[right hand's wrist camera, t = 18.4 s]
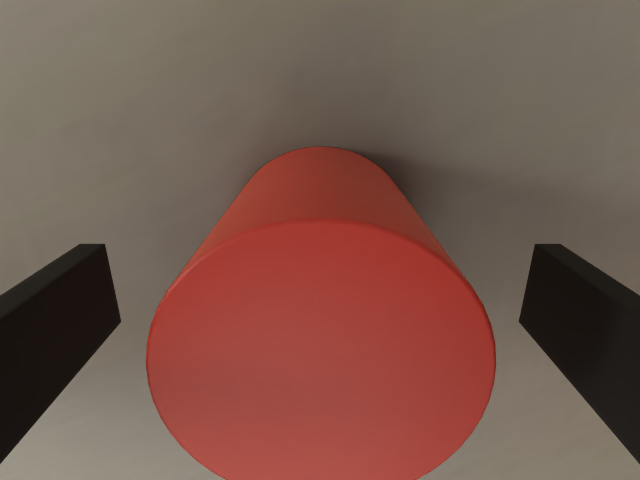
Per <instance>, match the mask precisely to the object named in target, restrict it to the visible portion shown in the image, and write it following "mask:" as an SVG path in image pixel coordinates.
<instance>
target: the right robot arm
mask: <svg viewBox="0 0 640 480" xmlns="http://www.w3.org/2000/svg"><path fill="white" fill-rule="evenodd" d="M120 322H121V318H120V314H119V309H118V304H117V299H116V295H115V290H114V285H113V280H112V275H111V271H110V266H109V261H108V256H107V251H106V247H105V244H79V245H77V246H76V247H74V248H73V249H71V250H70V251H68V252H67V253H65V254H64V255H62V256H61V257H59V258H57V259H56V260H54V261H53V262H51V263H50V264H48V265H47V266H45V267H44V268H42V269H41V270H39V271H38V272H36V273H34V274H33V275H31V276H30V277H28V278H27V279H25V280H24V281H22V282H21V283H19V284H18V285H16V286H14V287H13V288H11V289H10V290H8V291H7V292H5V293H4V294H2V295H1V296H0V464H1V462H2V461H3V460H4V459H5V458H6V457H7V455H8V454H9V453H10V452H11V451H12V450H13V448H14V447H15V446H16V445H17V444H18V442H19V441H20V440H21V439H22V438H23V437H24V435H25V434H26V433H27V432H28V431H29V430H30V428H31V427H32V426H33V425H34V424H35V422H36V421H37V420H38V419H39V418H40V417H41V415H42V414H43V413H44V412H45V411H46V410H47V408H48V407H49V406H50V405H51V404H52V402H53V401H54V400H55V399H56V398H57V397H58V395H59V394H60V393H61V392H62V391H63V390H64V388H65V387H66V386H67V385H68V384H69V382H70V381H71V380H72V379H73V378H74V377H75V375H76V374H77V373H78V372H79V371H80V370H81V368H82V367H83V366H84V365H85V364H86V362H87V361H88V360H89V359H90V358H91V357H92V355H93V354H94V353H95V352H96V351H97V350H98V348H99V347H100V346H101V345H102V344H103V342H104V341H105V340H106V339H107V338H108V337H109V335H110V334H111V333H112V332H113V331H114V329H115V328H116V327H117V326H118V325H119V324H120ZM519 322H520V324H521V325H522V326H523V327H524V328H525V330H526V331H527V332H528V333H529V334H530V335H531V337H532V338H533V339H534V340H535V341H536V342H537V344H538V345H539V346H540V347H541V348H542V350H543V351H544V352H545V353H546V354H547V355H548V357H549V358H550V359H551V360H552V361H553V362H554V364H555V365H556V366H557V367H558V368H559V370H560V371H561V372H562V373H563V374H564V375H565V377H566V378H567V379H568V380H569V381H570V382H571V384H572V385H573V386H574V387H575V388H576V390H577V391H578V392H579V393H580V394H581V395H582V397H583V398H584V399H585V400H586V401H587V402H588V404H589V405H590V406H591V407H592V408H593V410H594V411H595V412H596V413H597V414H598V415H599V417H600V418H601V419H602V420H603V421H604V422H605V424H606V425H607V426H608V427H609V428H610V430H611V431H612V432H613V433H614V434H615V435H616V437H617V438H618V439H619V440H620V441H621V442H622V444H623V445H624V446H625V447H626V448H627V450H628V451H629V452H630V453H631V454H632V455H633V457H634V458H635V459H636V460H637V461H638V462H639V464H640V296H639V295H638V294H636V293H635V292H633V291H632V290H630V289H629V288H627V287H626V286H624V285H622V284H621V283H619V282H618V281H616V280H615V279H613V278H612V277H610V276H609V275H607V274H606V273H604V272H602V271H601V270H599V269H598V268H596V267H595V266H593V265H592V264H590V263H589V262H587V261H586V260H584V259H583V258H581V257H579V256H578V255H576V254H575V253H573V252H572V251H570V250H569V249H567V248H566V247H564V246H563V245H561V244H535V247H534V251H533V256H532V261H531V266H530V271H529V275H528V280H527V285H526V290H525V294H524V299H523V304H522V309H521V314H520V318H519Z"/></svg>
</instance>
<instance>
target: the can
mask: <svg viewBox="0 0 640 480" xmlns="http://www.w3.org/2000/svg"><path fill="white" fill-rule="evenodd" d="M146 369H147V378H148V385H149V388H150V392H151V395H152V399H153V402H154V404H155V406H156V409H157V411H158V413H159V415H160V417H161V419H162V421H163V422H164V424H165V425H166V427H167V428H168V430H169V432H170V433H171V434H172V436H173V437H174V438H175V439H176V440H177V442H178V443H179V444H180V445H181V446H182V448H184V449H185V450H186V451H187V452H188V453H189V454H190V455H191V456H192V457H193V458H194V459H195V460H197V461H198V462H199V463H201V464H202V465H203V466H205V467H206V468H208V469H209V470H210V471H212V472H213V473H215V474H217V475H219V476H220V477H222V478H224V479H226V480H417V479H418V478H420V477H422V476H424V475H425V474H427V473H429V472H431V471H432V470H433V469H435V468H436V467H437V466H439V465H440V464H442V463H443V462H444V461H446V460H447V459H448V458H449V457H450V456H451V455H452V454H453V453H454V452H455V451H456V450H458V449H459V448H460V447H461V445H462V444H463V443H464V442H465V441H466V439H467V438H468V437H469V436H470V435H471V433H472V432H473V430H474V429H475V427H476V426H477V424H478V422H479V421H480V419H481V418H482V416H483V413H484V411H485V409H486V407H487V404H488V402H489V399H490V396H491V392H492V389H493V385H494V379H495V370H496V350H495V340H494V336H493V331H492V327H491V323H490V321H489V318H488V316H487V313H486V311H485V308H484V306H483V304H482V302H481V301H480V299H479V297H478V296H477V294H476V292H475V291H474V289H473V287H472V286H471V285H470V283H469V282H468V281H467V279H466V278H465V277H464V275H463V274H462V273H461V271H460V270H459V269H458V267H457V266H456V265H455V263H454V262H453V261H452V259H451V258H450V257H449V255H448V254H447V253H446V251H445V250H444V249H443V247H442V246H441V245H440V243H439V242H438V241H437V239H436V238H435V236H434V235H433V234H432V232H431V231H430V230H429V228H428V227H427V226H426V224H425V223H424V222H423V220H422V219H421V218H420V216H419V215H418V214H417V212H416V211H415V210H414V208H413V207H412V206H411V204H410V203H409V202H408V200H407V199H406V198H405V196H404V195H403V194H402V192H401V191H400V190H399V188H398V187H397V186H396V184H395V183H394V182H393V181H392V179H391V178H390V177H389V176H388V175H387V174H386V173H385V172H384V171H383V170H382V169H381V168H380V167H379V166H377V165H376V164H375V163H373V162H372V161H370V160H369V159H367V158H365V157H363V156H361V155H359V154H357V153H354V152H351V151H348V150H345V149H340V148H335V147H322V146H319V147H307V148H302V149H297V150H294V151H291V152H288V153H285V154H283V155H281V156H279V157H277V158H275V159H273V160H272V161H270V162H269V163H267V164H266V165H264V166H263V167H262V168H261V169H260V170H259V171H258V172H256V173H255V174H254V175H253V177H252V178H251V179H250V180H249V182H248V183H247V184H246V185H245V187H244V188H243V189H242V191H241V192H240V193H239V195H238V196H237V197H236V199H235V200H234V201H233V203H232V204H231V205H230V207H229V208H228V209H227V211H226V212H225V214H224V215H223V216H222V218H221V219H220V220H219V222H218V223H217V224H216V226H215V227H214V228H213V230H212V231H211V232H210V234H209V235H208V236H207V238H206V239H205V240H204V242H203V243H202V244H201V246H200V247H199V248H198V250H197V251H196V252H195V254H194V255H193V256H192V258H191V259H190V260H189V262H188V263H187V265H186V266H185V267H184V269H183V270H182V271H181V273H180V274H179V275H178V277H177V278H176V279H175V281H174V282H173V283H172V285H171V286H170V287H169V289H168V290H167V292H166V294H165V296H164V297H163V299H162V301H161V302H160V304H159V306H158V308H157V311H156V313H155V316H154V318H153V321H152V323H151V327H150V331H149V336H148V341H147V351H146Z"/></svg>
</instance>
